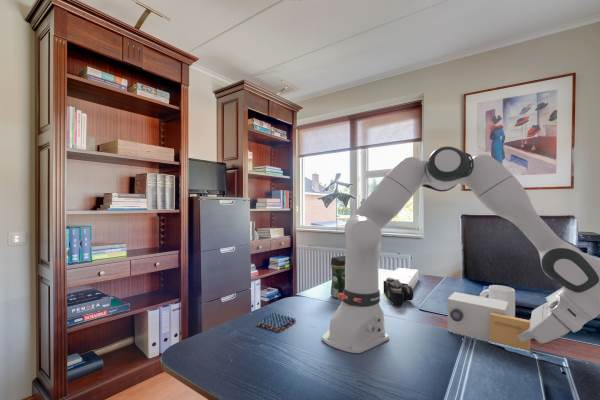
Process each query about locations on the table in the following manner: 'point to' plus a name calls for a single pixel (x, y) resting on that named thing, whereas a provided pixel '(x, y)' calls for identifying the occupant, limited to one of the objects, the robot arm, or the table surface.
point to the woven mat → (277, 322)
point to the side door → (508, 330)
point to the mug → (502, 296)
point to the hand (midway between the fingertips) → (520, 334)
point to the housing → (472, 314)
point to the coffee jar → (338, 275)
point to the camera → (398, 292)
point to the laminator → (404, 277)
